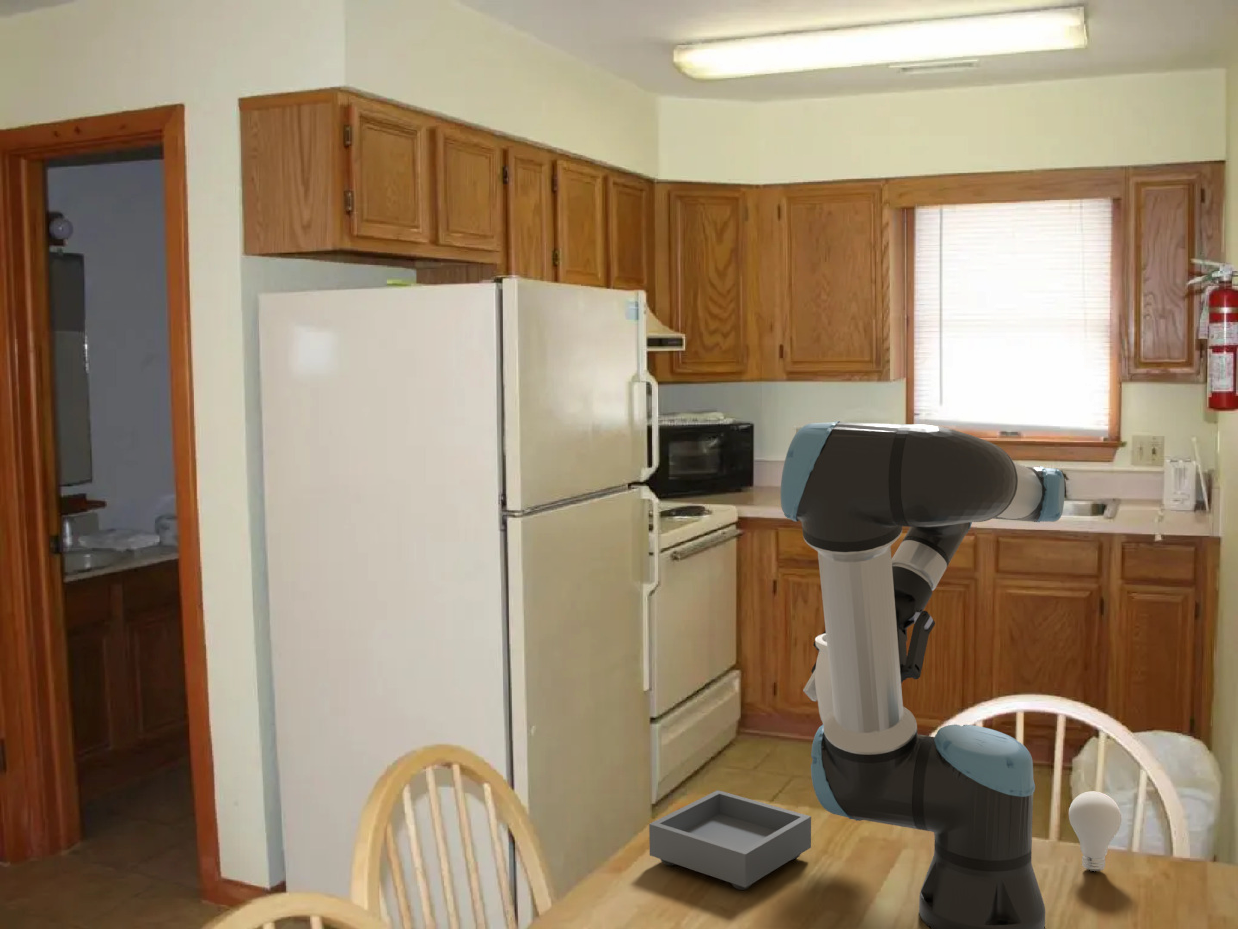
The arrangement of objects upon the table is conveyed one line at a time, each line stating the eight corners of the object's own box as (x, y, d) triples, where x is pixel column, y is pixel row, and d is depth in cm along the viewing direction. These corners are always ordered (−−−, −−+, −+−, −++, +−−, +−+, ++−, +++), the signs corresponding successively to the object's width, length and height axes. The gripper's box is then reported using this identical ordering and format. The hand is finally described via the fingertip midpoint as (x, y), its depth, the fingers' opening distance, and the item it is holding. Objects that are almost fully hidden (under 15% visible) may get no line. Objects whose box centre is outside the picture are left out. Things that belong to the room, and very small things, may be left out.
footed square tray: (811, 858, 176) (811, 816, 175) (745, 898, 164) (745, 854, 163) (717, 829, 186) (717, 790, 185) (649, 865, 174) (649, 824, 173)
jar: (804, 748, 177) (804, 643, 175) (828, 726, 186) (828, 627, 184) (878, 759, 172) (879, 651, 170) (899, 736, 181) (900, 634, 179)
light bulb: (1061, 874, 169) (1063, 795, 168) (1074, 857, 175) (1076, 780, 174) (1112, 886, 166) (1115, 806, 164) (1125, 868, 171) (1127, 790, 170)
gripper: (988, 607, 178) (917, 739, 169) (860, 582, 195) (791, 701, 187) (966, 575, 174) (893, 708, 165) (838, 553, 191) (766, 673, 183)
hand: (839, 704), depth 176 cm, fingers closed on jar, 10 cm apart
